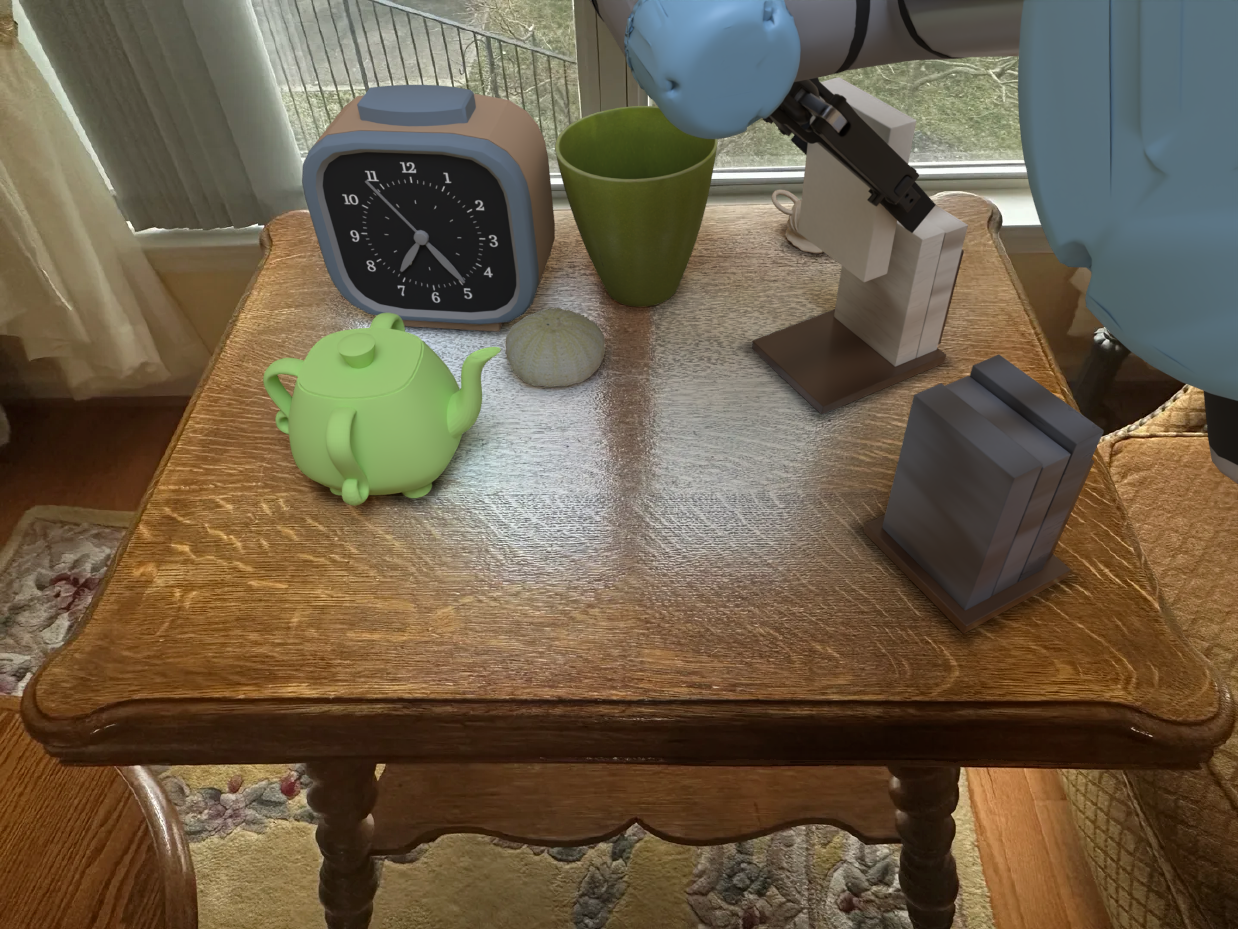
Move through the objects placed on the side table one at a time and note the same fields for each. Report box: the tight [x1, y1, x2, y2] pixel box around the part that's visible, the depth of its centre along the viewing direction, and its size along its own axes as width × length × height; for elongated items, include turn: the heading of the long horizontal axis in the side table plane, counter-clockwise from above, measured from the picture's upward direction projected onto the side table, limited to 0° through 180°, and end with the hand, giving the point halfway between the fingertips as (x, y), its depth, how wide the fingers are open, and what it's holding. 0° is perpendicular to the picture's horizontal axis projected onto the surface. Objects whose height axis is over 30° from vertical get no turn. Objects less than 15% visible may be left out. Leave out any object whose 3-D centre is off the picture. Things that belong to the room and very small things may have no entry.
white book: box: [798, 76, 917, 282], centre depth 74 cm, size 9×2×13 cm, turn 28°
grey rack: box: [863, 354, 1105, 634], centre depth 66 cm, size 11×10×15 cm
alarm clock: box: [301, 84, 556, 332], centre depth 89 cm, size 21×10×22 cm, turn 82°
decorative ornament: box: [770, 189, 824, 254], centre depth 101 cm, size 4×8×5 cm, turn 58°
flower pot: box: [554, 105, 719, 308], centre depth 92 cm, size 15×15×16 cm
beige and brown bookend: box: [751, 204, 969, 415], centre depth 83 cm, size 11×15×14 cm
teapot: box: [262, 313, 502, 507], centre depth 76 cm, size 16×14×13 cm
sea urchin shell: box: [504, 307, 606, 388], centre depth 88 cm, size 9×8×8 cm
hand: (880, 190), depth 77 cm, fingers closed on white book, 9 cm apart
